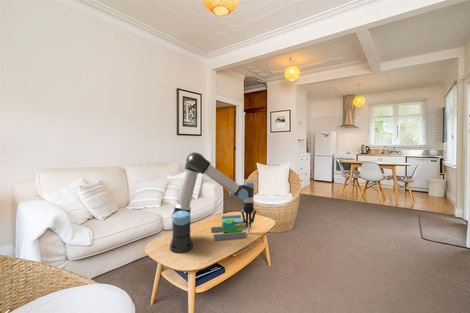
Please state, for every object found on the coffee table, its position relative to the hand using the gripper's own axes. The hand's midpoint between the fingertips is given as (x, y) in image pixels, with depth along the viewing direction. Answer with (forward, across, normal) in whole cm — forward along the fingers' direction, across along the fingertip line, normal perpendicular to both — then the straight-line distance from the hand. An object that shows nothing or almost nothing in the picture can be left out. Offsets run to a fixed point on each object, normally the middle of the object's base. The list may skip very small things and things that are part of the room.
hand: (248, 231), depth 179 cm
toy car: (+2, -12, 0) cm, 12 cm away
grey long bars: (+1, -16, 0) cm, 16 cm away
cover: (+1, -10, +15) cm, 18 cm away
